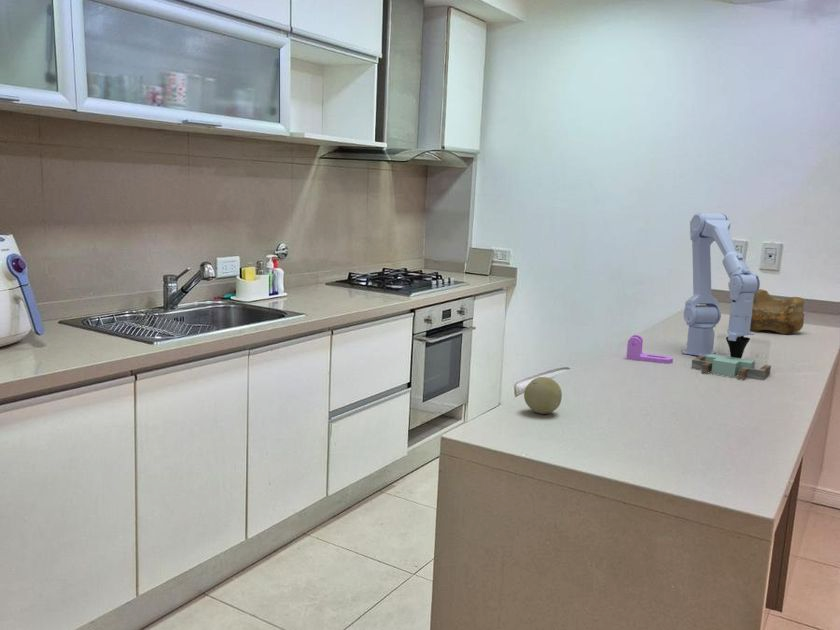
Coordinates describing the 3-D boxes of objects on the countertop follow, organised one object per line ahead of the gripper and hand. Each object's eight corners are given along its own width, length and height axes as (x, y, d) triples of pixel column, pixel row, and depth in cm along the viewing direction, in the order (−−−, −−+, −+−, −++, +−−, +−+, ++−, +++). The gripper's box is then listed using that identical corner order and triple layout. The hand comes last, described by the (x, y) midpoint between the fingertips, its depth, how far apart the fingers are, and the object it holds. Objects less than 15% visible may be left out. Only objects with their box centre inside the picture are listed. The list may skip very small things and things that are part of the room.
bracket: (626, 359, 213) (628, 337, 212) (628, 356, 218) (630, 333, 217) (671, 364, 208) (673, 341, 207) (673, 361, 213) (675, 338, 212)
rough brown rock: (723, 329, 274) (727, 292, 270) (744, 322, 284) (748, 286, 280) (785, 342, 256) (789, 302, 253) (805, 334, 266) (809, 295, 263)
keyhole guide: (700, 363, 211) (701, 354, 210) (769, 374, 199) (770, 365, 199) (686, 370, 201) (687, 362, 200) (759, 382, 189) (760, 373, 189)
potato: (535, 405, 162) (537, 371, 161) (566, 412, 157) (568, 378, 156) (517, 412, 156) (519, 377, 155) (549, 420, 151) (551, 384, 150)
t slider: (709, 367, 206) (710, 353, 206) (753, 374, 199) (755, 360, 199) (700, 372, 199) (701, 358, 199) (745, 379, 192) (747, 365, 192)
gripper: (749, 320, 195) (743, 368, 197) (761, 314, 207) (756, 359, 209) (722, 317, 199) (717, 364, 202) (736, 311, 211) (731, 356, 213)
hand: (735, 361), depth 206 cm, fingers closed
